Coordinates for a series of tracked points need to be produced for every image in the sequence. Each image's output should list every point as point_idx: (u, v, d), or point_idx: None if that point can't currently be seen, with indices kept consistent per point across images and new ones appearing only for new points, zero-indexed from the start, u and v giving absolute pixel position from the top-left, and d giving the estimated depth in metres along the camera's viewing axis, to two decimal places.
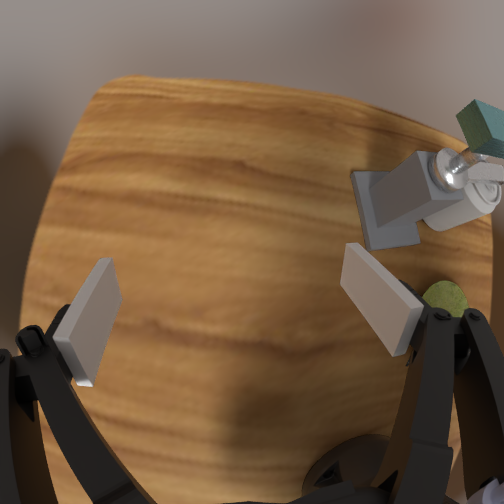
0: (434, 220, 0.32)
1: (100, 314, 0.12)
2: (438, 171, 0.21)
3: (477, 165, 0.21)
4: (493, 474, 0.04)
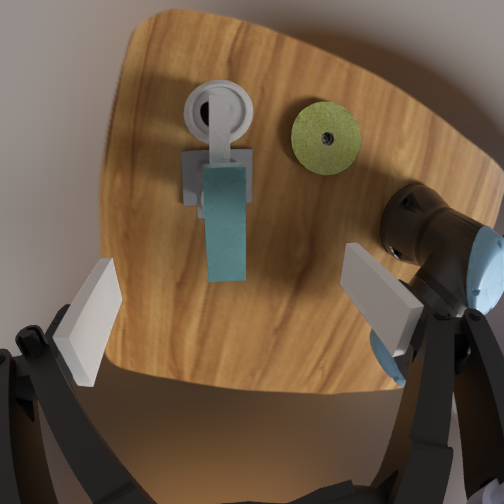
0: None
1: (100, 314, 0.12)
2: None
3: (214, 156, 0.27)
4: (493, 474, 0.04)
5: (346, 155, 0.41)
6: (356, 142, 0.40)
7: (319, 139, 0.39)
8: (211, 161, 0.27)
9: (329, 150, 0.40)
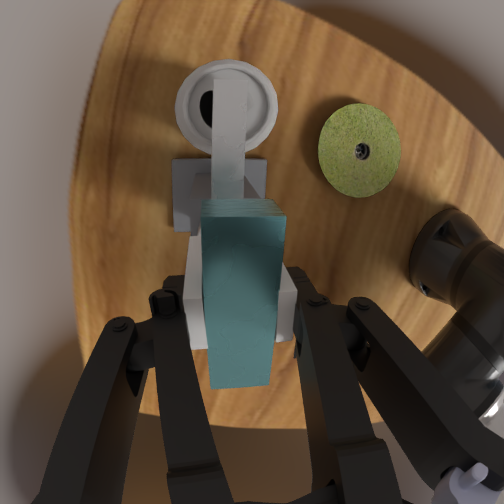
0: None
1: None
2: None
3: (219, 176, 0.17)
4: (451, 464, 0.05)
5: (382, 173, 0.32)
6: (395, 157, 0.31)
7: (352, 151, 0.30)
8: (214, 184, 0.17)
9: (363, 166, 0.31)
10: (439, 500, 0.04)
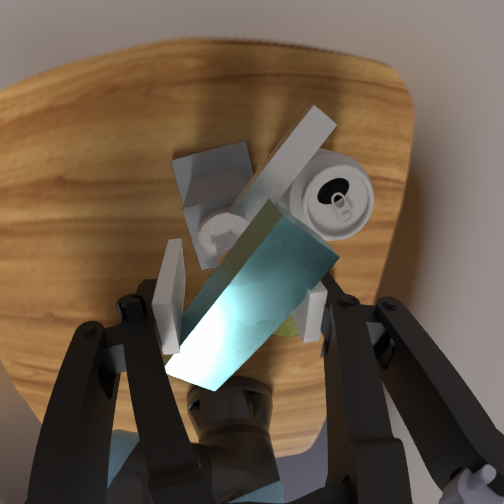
0: None
1: (179, 288, 0.14)
2: None
3: (262, 184, 0.18)
4: (462, 465, 0.05)
5: (281, 327, 0.39)
6: (298, 331, 0.40)
7: None
8: (253, 187, 0.18)
9: None
10: (446, 500, 0.04)
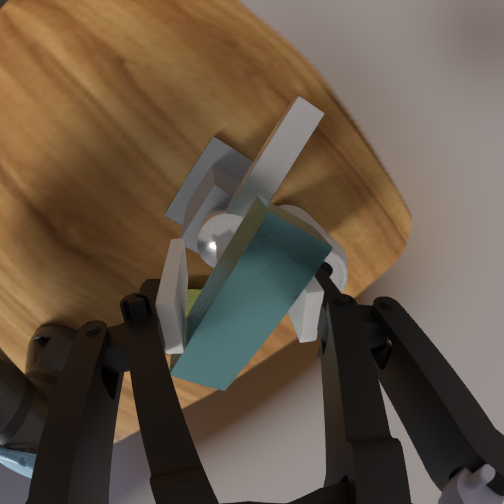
0: None
1: (182, 287, 0.14)
2: None
3: (255, 180, 0.18)
4: (460, 464, 0.05)
5: None
6: None
7: None
8: (246, 185, 0.18)
9: None
10: (446, 500, 0.04)
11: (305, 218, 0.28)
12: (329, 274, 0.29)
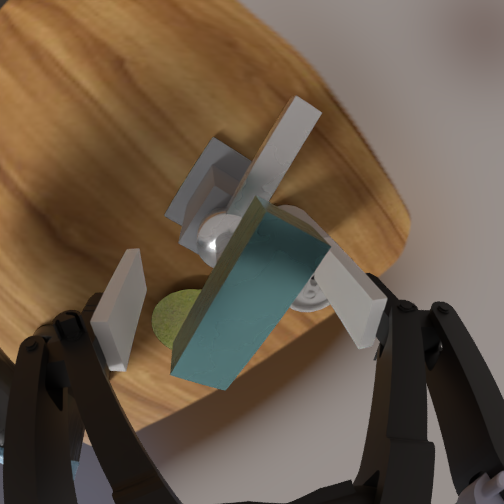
0: None
1: (131, 301, 0.13)
2: None
3: (253, 180, 0.18)
4: (482, 469, 0.04)
5: (166, 334, 0.37)
6: None
7: None
8: (245, 185, 0.18)
9: (180, 321, 0.36)
10: (461, 503, 0.04)
11: (304, 218, 0.29)
12: None
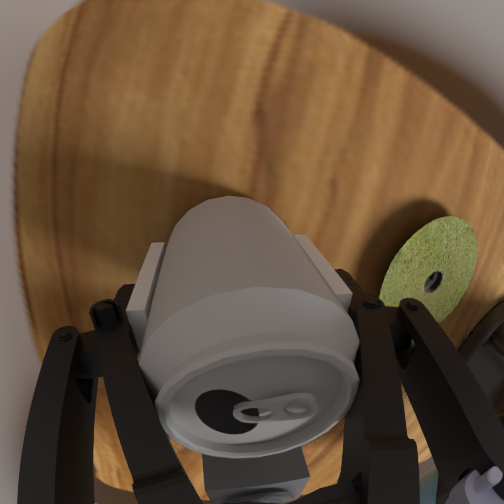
0: None
1: None
2: None
3: None
4: (470, 466, 0.04)
5: (450, 301, 0.21)
6: (468, 277, 0.21)
7: (422, 286, 0.20)
8: None
9: (430, 300, 0.21)
10: (453, 501, 0.04)
11: None
12: (232, 246, 0.10)
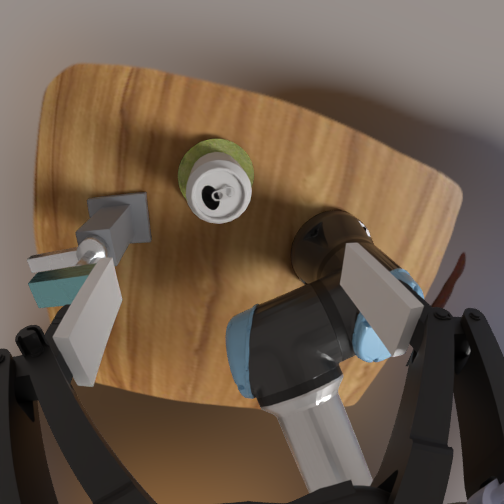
0: None
1: (100, 314, 0.12)
2: (105, 249, 0.31)
3: (63, 264, 0.31)
4: (493, 474, 0.04)
5: None
6: (248, 176, 0.42)
7: None
8: (67, 265, 0.31)
9: None
10: None
11: None
12: (214, 157, 0.33)
